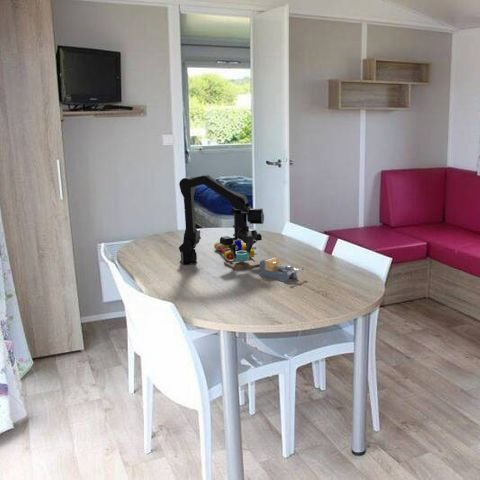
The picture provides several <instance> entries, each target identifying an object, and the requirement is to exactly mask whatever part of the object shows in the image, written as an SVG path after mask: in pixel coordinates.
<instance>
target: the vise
mask: <svg viewBox="0 0 480 480" xmlns="http://www.w3.org/2000/svg"><path fill="white" fill-rule="evenodd" d="M259 264H260V266H259V273H258V275H259V277H270V278H273V279H277V280H278V281H279V282H288V281H290V278H291V279H296V278H298V275H297V274H298V273H299V272H300V271H301V270H302V271H304V270H305V269H306V268H305V266H304V265H302V266H301V267H300V268H297V267H294V266H292V265H288V264H287V265H283V264H282V263H280V260H279V258H278V257H274V256H273V257H268V258H264V259H262V260H260V262H259Z"/></svg>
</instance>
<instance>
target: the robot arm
mask: <svg viewBox="0 0 480 480" xmlns="http://www.w3.org/2000/svg"><path fill="white" fill-rule="evenodd" d="M178 185H179V190H180V193H181V195H182V197H183V207H184V208H183V210H184V221H185V224H184V225H185V230H184V232H183V241H182V244H180V245H179V247H178V250H179V252H180V260H179V263H181V264H182V265H184V266H185V265H187V266H189V265H192V264H197V263H198V261H197V259H198V258H197V256H198V255H197V252H196V247H197V245H198V244H199V243H200V240H201V239H202V237H201V230H198V229H197V227H196V212H195V200H194V199H195V198H194V196H195V193H196V188H197V187H198V186H201V185H204V186H206V187H207V188H209V189H210V190H212V191H213V192H215V193H216V194H218V195H219V196H221V197H223V198H224V199H226V201H227V202H228V203H229V204H230V205H231V206H232V209H231V210H230V211H229V212H228V214H230V215H232V214H233V225H232V228H233V231H234V233H233V234H232V236H229V235H225V236H220V238H219V243H221V244H223V245H228V247H229V250H231V252H232V255H233V257H234V258H236V244H235V241H241V242H243V243H244V244H245V245H246V251H247V252H249V254H250V251H251V248H252V247H254V245H255V244H256V243H257V242H259V241H262V240H263V236H262V234H261V233H259V232H258V231H257V230H250V227H249V225H248V223H249V224H252V225H253V224H255V225H263V224H264V222H265V214H264V209H263V208H260V207H259V208H253V207H252V206H251V204H250V203H249V201H248V197H247V196H246V195H245V194H242V193H239V192H238V191H233V190H231V189H230V188H228V187H226V186H225V185H223V184H222V183H220V182H219V181H217V180H216V179H214V178H212V177H211V176H210V175H208V174H203V175H200V176H195V177H193V176H186V177H184V178H182V179H180V181H179V183H178Z"/></svg>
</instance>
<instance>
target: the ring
mask: <svg viewBox="0 0 480 480" xmlns="http://www.w3.org/2000/svg"><path fill="white" fill-rule="evenodd" d="M249 259H250V257H249V252H247V251H236V258H234V259H233V260H235V261H248V260H249Z"/></svg>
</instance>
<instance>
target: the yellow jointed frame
mask: <svg viewBox="0 0 480 480" xmlns="http://www.w3.org/2000/svg"><path fill="white" fill-rule="evenodd" d="M235 244H236V251H246V243H243V241H235ZM213 247H214V249H215V251H220V252H222V253H223V257H224V258H225V259H226V260H227V261H233V260H234V257H233V255H232V252H231V250H230V248H229V247H228V245H223V244H221V243H220V241H218V242H215V243H214V245H213ZM226 249H227V250H226ZM228 249H229V250H228ZM255 250H257V246H252V248H251V251H250V254H249V258H255Z"/></svg>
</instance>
